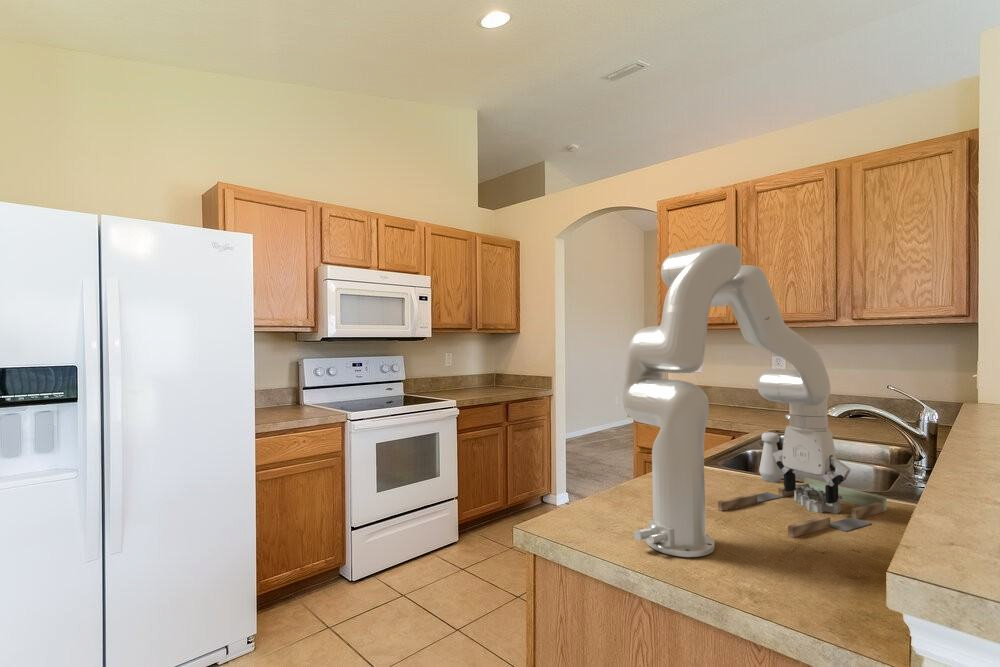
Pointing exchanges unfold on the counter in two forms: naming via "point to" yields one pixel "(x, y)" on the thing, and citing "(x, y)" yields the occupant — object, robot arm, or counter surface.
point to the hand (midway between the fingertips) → (810, 496)
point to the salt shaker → (770, 458)
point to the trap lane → (867, 503)
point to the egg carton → (816, 500)
